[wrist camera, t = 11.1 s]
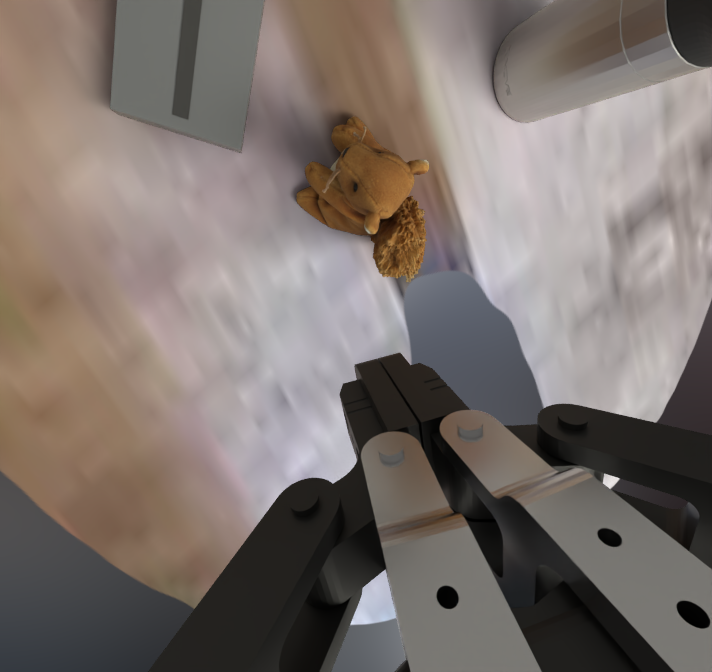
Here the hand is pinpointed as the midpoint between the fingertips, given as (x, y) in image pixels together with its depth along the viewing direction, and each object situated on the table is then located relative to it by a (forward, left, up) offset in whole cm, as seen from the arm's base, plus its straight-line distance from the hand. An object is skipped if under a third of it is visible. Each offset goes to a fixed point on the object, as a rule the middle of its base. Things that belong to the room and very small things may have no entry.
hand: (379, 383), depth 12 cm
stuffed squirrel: (-9, -5, -29) cm, 31 cm away
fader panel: (+2, -22, -29) cm, 36 cm away
